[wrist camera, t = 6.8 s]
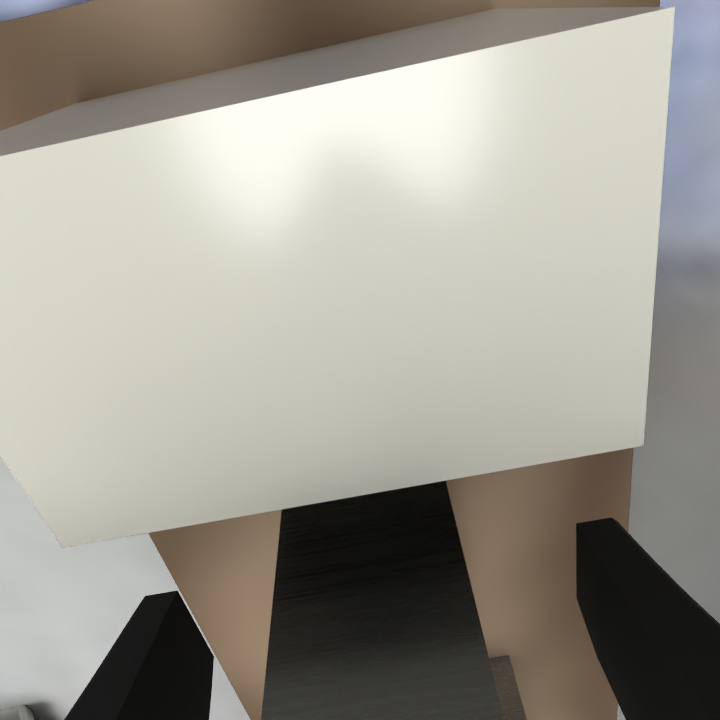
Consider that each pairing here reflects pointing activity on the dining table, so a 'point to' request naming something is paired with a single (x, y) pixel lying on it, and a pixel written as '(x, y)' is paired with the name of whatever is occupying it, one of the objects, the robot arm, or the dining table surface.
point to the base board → (261, 531)
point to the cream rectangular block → (334, 271)
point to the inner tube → (376, 614)
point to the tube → (16, 713)
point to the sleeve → (507, 688)
